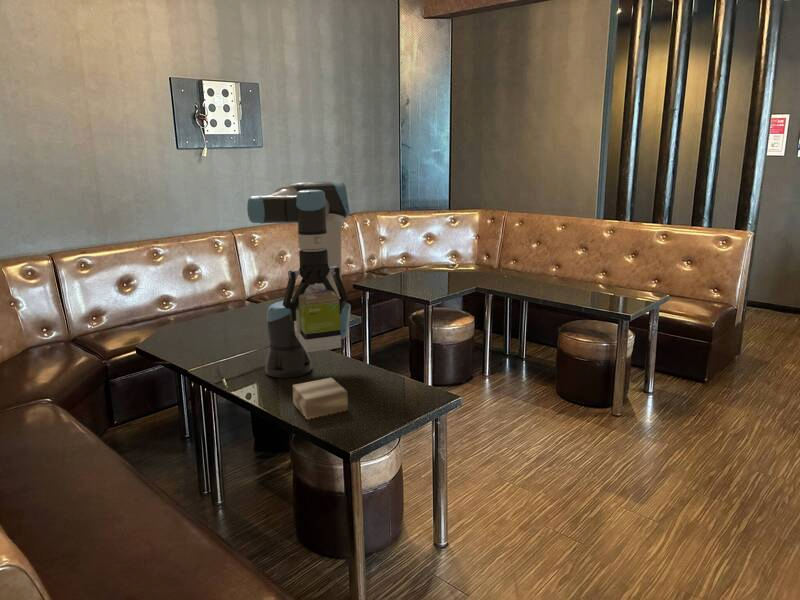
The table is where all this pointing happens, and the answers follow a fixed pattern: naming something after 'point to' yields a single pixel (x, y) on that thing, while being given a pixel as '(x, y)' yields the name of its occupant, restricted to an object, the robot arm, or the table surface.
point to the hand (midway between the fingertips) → (316, 329)
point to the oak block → (319, 398)
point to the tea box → (319, 319)
